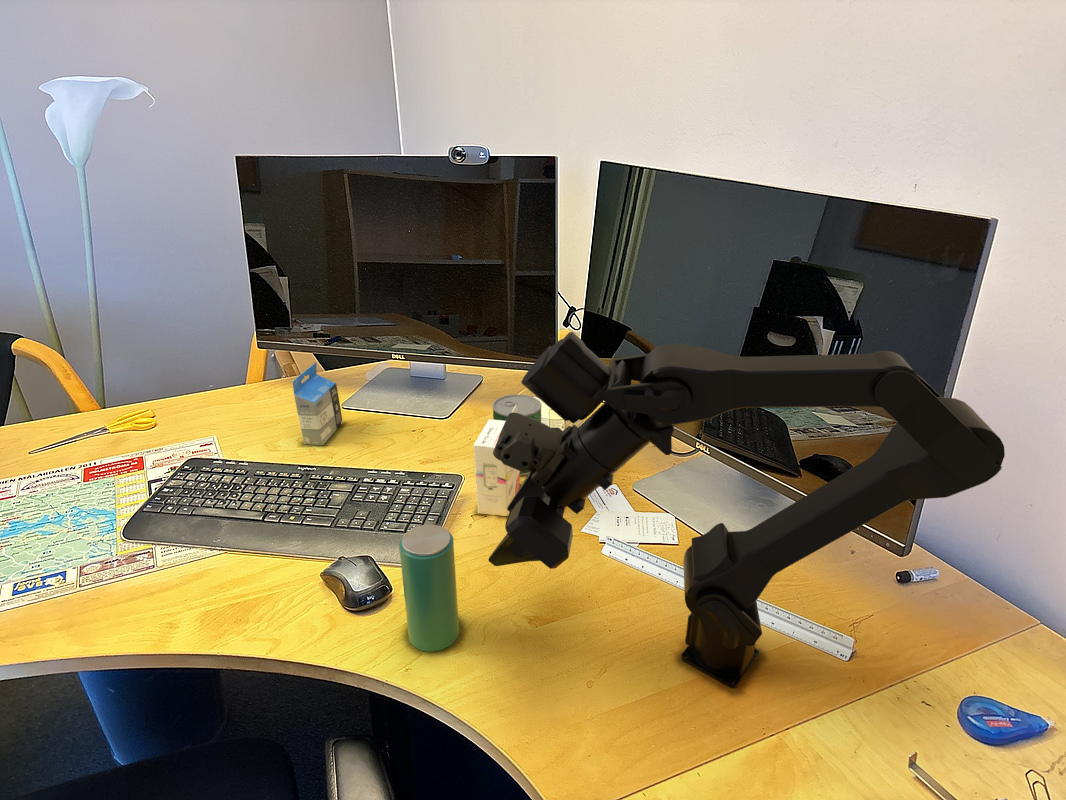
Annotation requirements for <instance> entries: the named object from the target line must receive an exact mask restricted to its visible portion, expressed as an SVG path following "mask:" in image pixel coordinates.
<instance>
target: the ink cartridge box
mask: <svg viewBox="0 0 1066 800" xmlns="http://www.w3.org/2000/svg"><path fill="white" fill-rule="evenodd" d="M511 413H518V410H517V405H515V407H514V409H513V411H512V412H511ZM504 424H505V421H502V420H493V419H491V418H489V419H488V420H487V422H486V424H485V425H484V427H483V428H482V430H481V432H480V434H479V435H478V436H477V438H476V440H475V442H474V443H473V454H474V469H475V486H476V487H475V489H476V503H477V504H476V506H477V514H481V515H482V514H483V515H493V516H502V517H508V515H509V511H508V510H507V508H508V506H509V504H510V502H511V501H512V499H513V498H514V496H515V495H516V493H517V491H518V490H519V488H520V487H521V476H520V471H519V470H516V469H514V468H511V467H509V466H507V465H504V464H503V463H502V461H500V460H498V459H497V458H495V457H494V455H493V451H494V448H495V446H496V443H497V441H498V438H499V436H500V433H501V430H502V428H503V426H504Z"/></svg>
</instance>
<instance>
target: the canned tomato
mask: <svg viewBox="0 0 1066 800" xmlns="http://www.w3.org/2000/svg"><path fill="white" fill-rule="evenodd" d="M515 405H517V410H518V413H519V414H521V415H524V416H526V417H529V418H531V419H533V420H536V421H538V422H541V423H542V401H541V400H540V399H539V398H536V397H534V396H531V395H527V394H507V395H503V396H501V397H499V398H497V399H495V400H494V401H493V403H492V411H493V412H492V417H493V418H492V420H502V421H506V419H507V417H508V415H509V414H510V413H511V412H512V411H513V409H514V407H515ZM529 472H530V471H529V470H528V471H525V472H521V471H520V477H521V476H528V474H529Z"/></svg>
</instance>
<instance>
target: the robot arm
mask: <svg viewBox="0 0 1066 800" xmlns="http://www.w3.org/2000/svg"><path fill="white" fill-rule="evenodd" d="M632 381H636V382H639V383H634V384H632ZM520 383H521V384H522V385H523V387H525V388H526V389H527V390H528V391H529V392H531V393H532V394H533V395H534V396H536V397H537V399H538V400H539V401H540V402H543V403H544V404H545V405H546V406H547V407H548V408H550V409H551V411H554V413H555V414H556V415H558V416H559V417H560V418H561V419H563V421H565V422H570V423H571V424H572V425H568V426H566V427H565V428H564V429H563V430H562V429H561V428H560V427H550V426H549V425H548V424H546V423H543V422H542V421H541V422H538V421H536V420H533V419H531V418H529V417H526V416H524V415H521V414H519V413H510V414H509V415H508V417H507V419H506V421H505V424H504V426H503V428H502V430H501V433H500V436H499V438H498V441H497V443H496V446H495V448H494V451H493V455H494V457H495V458H497V459H498V460H500V461H502V463H503V464H504V465H507V466H509V467H511V468H514V469H516V470H519V471H521V472H525V471H528V470H529V471H530V472H529V474H528V475H526V477H525V478H524V480H523V482H522V483H521V484H520V487H519V489H518V491H517V493H516V495H515V496H514V498H513V499H512V501H511V502H510V504H509V506H508V508H507V510H508V511H509V515H508V516H507V518H506V521H505V525H504V526H505V532H506V534H505V536H504V537H503V538H502V539H501V540H500V542H499V543H498V545H497V546H496V547H495V549H494V550H493V551H492V553H491V554H490V555H489V557H488V562H489V563H490V564H492V565H493V566H494V567H502V566H508V565H513V564H520V563H521V564H522V563H527V562H529V563H530V562H541V563H542V564H544V565H545V566H546V567H547V568H549V569H550V570H552V569H554V570H555V569H556V568H558V567H560V566H561V565H562V564H563V563H564V562H565V561H567V560H568V559H569V556H570V551H571V547H572V543H573V537H574V533H573V532H574V531H573V524H572V523H570V522H569V521H568V520H567V519H566V518H565V517H564V515H565V514H564V513H565V510H566V508H569V510H571V511H572V512H573V513H574V514H576V515H578V514H579V513H580V512H582V511H583V510H585V505H586V500H587V499H586V498H588V497H589V496H590V495H591V494H593V492H595V491H596V490H598V488H599V487H601V489H602V490H604V491H606V490H608V488H610V487H611V486H612V485H613V482H614V481H613V480H614V474H615V473H617V472H618V471H619V470H620V469H621V468H622V467H624V466H625V465H626V464H627V463H628V462H629V461H630V460H632V459H633V458H634V457H635V456H636V455H637V454H639V452H640V451H642V450H643V449H644V448H646V447H647V446H648V445H649V444H652V445H653V446H654V447H655V448H657V450H659V451H660V452H661V453H663V454H664V456H670V455H671V454H672V452H673V446H672V445H673V444H672V443H673V442H672V437H673V434H674V432H675V426H677V425H682V424H688V423H694V422H701V421H707V420H711V419H713V418H716V417H718V416H720V415H722V414H725V413H727V412H730V411H733V410H739V409H740V410H741V409H746V408H748V409H750V408H752V409H753V408H758V409H759V408H762V409H763V408H764V409H765V408H767V409H768V408H862V407H863V408H865V407H866V408H868V407H872V408H873V407H874V408H875V407H878V408H882V409H883V410H884V411H885V412H887V414H889V415H890V416H891V417H892V418H893V419H894V420H895V421H896V424H894V425H893V426H892V427H891V429H890V431H888V433H887V435H886V436H885V438H884V439H883V441H882V442H881V443H880V444H879V447H878V448H877V450H876V451H875V452H874V453H873V454H872V455H871V456H869V457H868V458H866V459H865V460H863V461H861V462H860V463H858V464H857V465H855V466H853V467H851V468H850V469H848V470H846V471H845V472H843V473H842V474H840V475H838V476H836V477H835V478H833V479H831V480H829V481H828V482H827V483H825V484H824V485H821V486H820V487H818V488H817V489H815V490H813V491H812V492H810V493H808V494H806V495H805V496H803V497H801V498H800V499H798V500H797V501H795V502H793V503H792V504H790V505H788V506H787V507H785V508H783V509H782V510H780V511H778V512H777V513H775V514H773V515H772V516H771V517H768V518H767V519H765V520H763V521H762V522H760V523H758V524H757V525H755V526H753V527H752V528H750V529H747V530H740V531H739V530H737V531H735V530H734V531H730V530H728V528H727V526H726V525H725V524H724V523H723V522H720V523H717V524H715V525H714V526H713V527H712V528H710V530H709V531H707V532H706V533H704V534H702V535H700V536H695V537H691V545H690V546H688V548H687V549H686V550H685V552H684V556H683V562H682V563H683V566H682V567H683V587H684V588H683V589H684V591H683V592H684V602H685V605H686V608H687V609H688V611H689V612H690V613H689V615H688V617H687V623H686V631H685V639H684V643H685V645H686V648H685V649H684V650H683V652H682V653H681V655H680V660H681V662H684V663H685V664H687V665H689V666H690V667H693V668H694V669H696V670H698V671H700V672H702V673H703V674H705V675H707V677H710V678H712V679H714V680H716V681H717V682H719V683H721V684H723V686H724V685H725V686H726V687H728V688H730V689H736V688H737V687H738V686H739V685H740V683H741V682H742V680H743V679H744V678H745V676H746V674H747V673H748V672H749V670H750V669H751V667H752V666H753V665H754V663H755V662H756V660H757V659H758V658H759V655H760V651H759V650H758V649H757V648H756V644H757V642H758V640H759V639H760V638H761V636H763V635H762V634H763V631H762V630H763V629H762V625H761V618H760V614H759V613H760V612H759V608H758V601H757V600H758V599H759V597H760V596H761V595H762V593H763V592H764V590H765V589H766V587H767V586H768V585H769V583H770V581H771V580H772V579H773V577H774V576H775V575H777V574H778V573H780V572H782V571H784V570H785V569H786V568H788V567H790V566H793V565H794V564H796V563H797V562H799V561H801V560H804V559H805V558H807V557H809V556H810V555H812V554H814V553H815V552H817V551H819V550H821V549H823V548H825V547H826V546H828V545H830V544H831V543H833V542H835V541H837V540H839V539H840V538H842V537H844V536H846V535H848V534H849V533H851V532H853V531H855V530H857V529H859V528H860V527H862V526H864V525H866V524H867V523H869V522H871V521H873V520H875V519H876V518H878V517H880V516H882V515H884V514H885V513H887V512H889V511H891V510H892V509H894V508H896V507H898V506H900V505H901V504H903V503H905V502H909V501H913V500H914V501H915V500H927V499H942V498H943V499H944V498H949V497H952V496H955V495H956V494H959V493H962V492H965V491H967V490H970V489H972V488H975V487H977V486H980V485H983V484H985V483H987V482H988V481H990V480H991V479H993V478H994V477H996V476H997V475H998V474H999V473H1000V472H1001V470H1002V468H1003V466H1002V465H1003V462H1004V459H1005V455H1006V454H1005V445H1004V442H1003V441H1002V439H1001V437H1000V436H999V435H998V434H997V433H996V432H995V431H994V430H993V429H992V428H991V427H990V426H989V425H988V424H987V423H986V422H985V420H983V419H982V418H981V416H980V415H979V414H978V413H977V412H976V411H975V410H974V409H973V408H972V407H971V406H970V405H969V404H968V403H966V402H965V401H963V400H960V399H958V398H953V397H943V396H942V395H940V393H939V392H937V391H936V390H935V389H934V388H933V387H932V386H931V385H930V384H929V383H928V382H927V381H926V380H925V379H924V378H923V377H921V376H920V375H919V374H918V373H916V371H915V370H914V369H913V368H912V367H911V365H909V363H908V362H907V361H906V360H905V358H903V356H902V355H900V354H899V353H897V352H895V351H891V350H879V351H874V352H872V353H852V354H851V353H850V354H848V353H847V354H844V353H843V354H810V355H809V354H808V355H805V354H804V355H769V356H765V355H762V356H739V355H732V354H727V353H724V352H720V351H717V350H715V349H712V348H708V347H703V346H697V345H688V344H681V343H673V342H672V343H664V344H659V345H657V346H655V347H654V348H653V349H652V350H651V351H650V352H649V353H644V354H638V355H631V356H624V357H616V358H612V359H611V360H610V362H609V365H608V364H606V362H604V361H603V360H602V359H601V358H599V356H598V355H596V354H595V353H594V352H593V351H592V350H591V349H589V348H588V347H587V346H586V344H585V343H584V341H583V340H582V339H581V338H580V336H578V335H577V334H576V333H575V332H573V331H569V332H568V333H567V334H566V335H565V336H564V337H563V338H561V339H559V340H558V341H556V342H555V343H554V344H553V345H549V346H548V347H547V348H546V349H545V350H544V351H543V352H542V353H541V354H540V356H539V357H538V358H537V359H536V360H535V361H534V363H533V364H532V365H531V366H530V367H529V368H528V370H527V372H526V373H525V374H524V376H523V378H522V380H521V382H520ZM601 404H602V405H601ZM579 420H580V421H583V422H582V423H581V424H580V425H579V426H577V425H575V424H576V423H577V422H578V421H579ZM584 420H585V421H584Z"/></svg>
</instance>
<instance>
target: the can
mask: <svg viewBox="0 0 1066 800" xmlns="http://www.w3.org/2000/svg"><path fill="white" fill-rule="evenodd" d="M454 543H455V542H454V536H453V534H452V533H451V531H449V530H448V529H447V528H445V527H443V526H441V525H438V524H421V525H417V526H415V527H412V528H410V529H409V530H407V531H406V532H405V533H404V534H403V536H402V537H401V538H400V540H399V543H398V547H399V557H400V558H399V559H400V567H401V577H402V586H403V595H404V606H405V614H406V623H407V624H406V625H407V633H408V640H409V642H410V644H411V645H412V646H413V647H414V648H416V649H418V650H419V651H423V652H429V653H431V652H440V651H442V650H445V649H447V648H449V647H450V646H451V645H453V644H454V643H455V642H456V640H457V639H458V637H459V634H460V625H459V624H460V623H459V608H458V607H459V605H458V591H457V578H456V577H457V576H456V575H457V574H456V560H455V559H456V558H455V545H454Z"/></svg>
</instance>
